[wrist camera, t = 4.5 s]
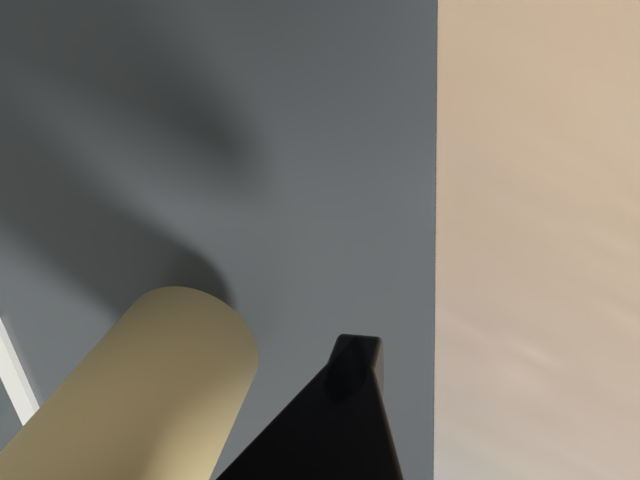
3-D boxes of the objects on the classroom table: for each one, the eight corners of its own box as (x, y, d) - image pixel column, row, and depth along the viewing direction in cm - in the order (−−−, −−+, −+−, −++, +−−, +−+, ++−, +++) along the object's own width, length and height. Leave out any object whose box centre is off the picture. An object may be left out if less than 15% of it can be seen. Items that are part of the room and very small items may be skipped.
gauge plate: (431, 621, 19) (431, 705, 17) (-66, 543, 24) (-117, 602, 21) (439, -231, 8) (440, -302, 6) (-469, -69, 13) (-650, -77, 11)
